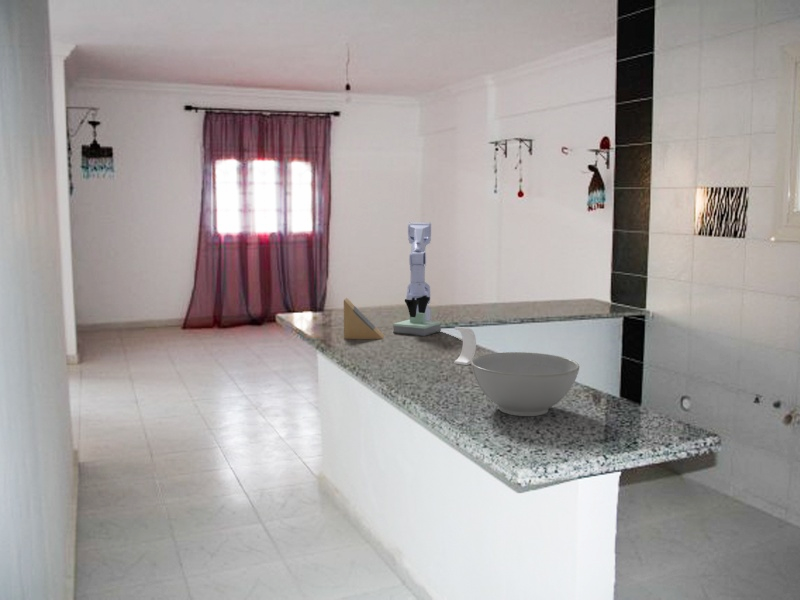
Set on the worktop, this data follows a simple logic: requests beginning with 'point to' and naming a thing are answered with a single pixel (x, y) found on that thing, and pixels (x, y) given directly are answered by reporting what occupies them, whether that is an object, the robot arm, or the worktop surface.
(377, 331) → the sandwich container
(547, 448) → the worktop surface
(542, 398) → the decorative bowl
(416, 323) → the lid
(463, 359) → the headphone stand
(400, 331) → the tub
